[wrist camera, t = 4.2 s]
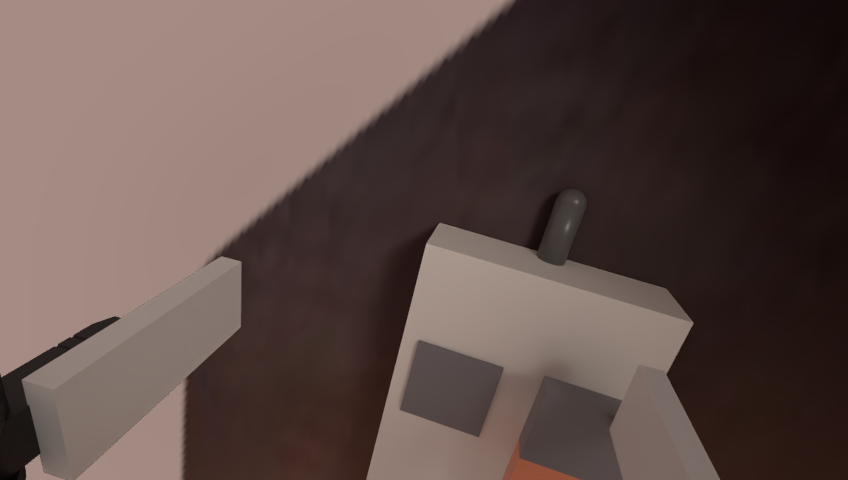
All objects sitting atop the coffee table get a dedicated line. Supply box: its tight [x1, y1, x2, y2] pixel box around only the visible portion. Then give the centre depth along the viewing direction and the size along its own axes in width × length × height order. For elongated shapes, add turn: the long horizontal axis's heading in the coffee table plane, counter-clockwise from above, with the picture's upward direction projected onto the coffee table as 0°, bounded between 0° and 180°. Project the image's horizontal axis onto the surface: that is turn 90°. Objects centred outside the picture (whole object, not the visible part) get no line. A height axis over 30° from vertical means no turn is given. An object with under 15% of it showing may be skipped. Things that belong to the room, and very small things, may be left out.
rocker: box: [502, 375, 623, 480], centre depth 16 cm, size 6×4×1 cm, turn 167°
